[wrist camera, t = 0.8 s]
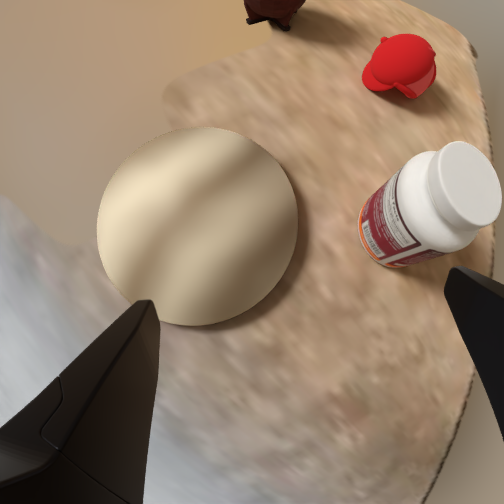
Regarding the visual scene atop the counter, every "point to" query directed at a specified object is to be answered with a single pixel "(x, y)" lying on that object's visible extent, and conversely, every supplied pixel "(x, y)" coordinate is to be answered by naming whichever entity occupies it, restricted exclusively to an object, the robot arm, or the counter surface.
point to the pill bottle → (430, 206)
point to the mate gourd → (272, 11)
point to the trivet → (197, 225)
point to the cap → (401, 65)
